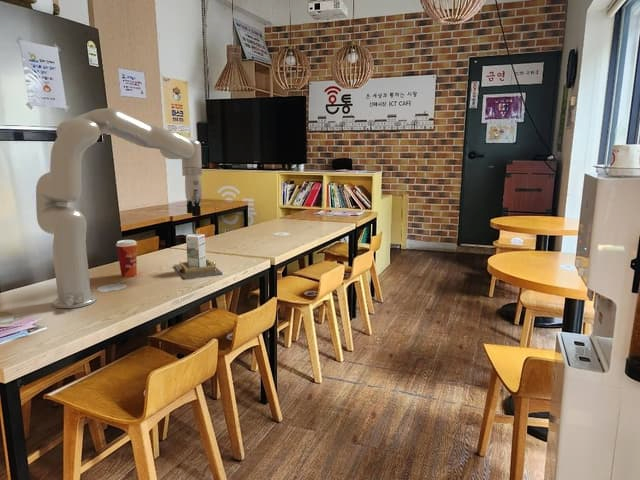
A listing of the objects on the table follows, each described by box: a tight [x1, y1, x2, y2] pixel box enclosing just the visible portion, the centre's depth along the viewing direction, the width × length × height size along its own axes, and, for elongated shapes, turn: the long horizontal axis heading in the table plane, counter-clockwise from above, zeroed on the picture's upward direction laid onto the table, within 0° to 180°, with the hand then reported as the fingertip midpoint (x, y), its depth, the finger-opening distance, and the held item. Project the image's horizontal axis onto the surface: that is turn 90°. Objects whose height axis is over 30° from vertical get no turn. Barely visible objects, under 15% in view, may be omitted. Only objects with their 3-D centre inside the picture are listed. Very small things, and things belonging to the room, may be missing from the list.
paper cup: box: [115, 239, 138, 278], centre depth 181 cm, size 8×8×14 cm
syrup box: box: [185, 233, 207, 268], centre depth 188 cm, size 6×6×14 cm
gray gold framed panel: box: [173, 259, 223, 280], centre depth 190 cm, size 22×15×3 cm
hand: (193, 214), depth 185 cm, fingers open, 9 cm apart
